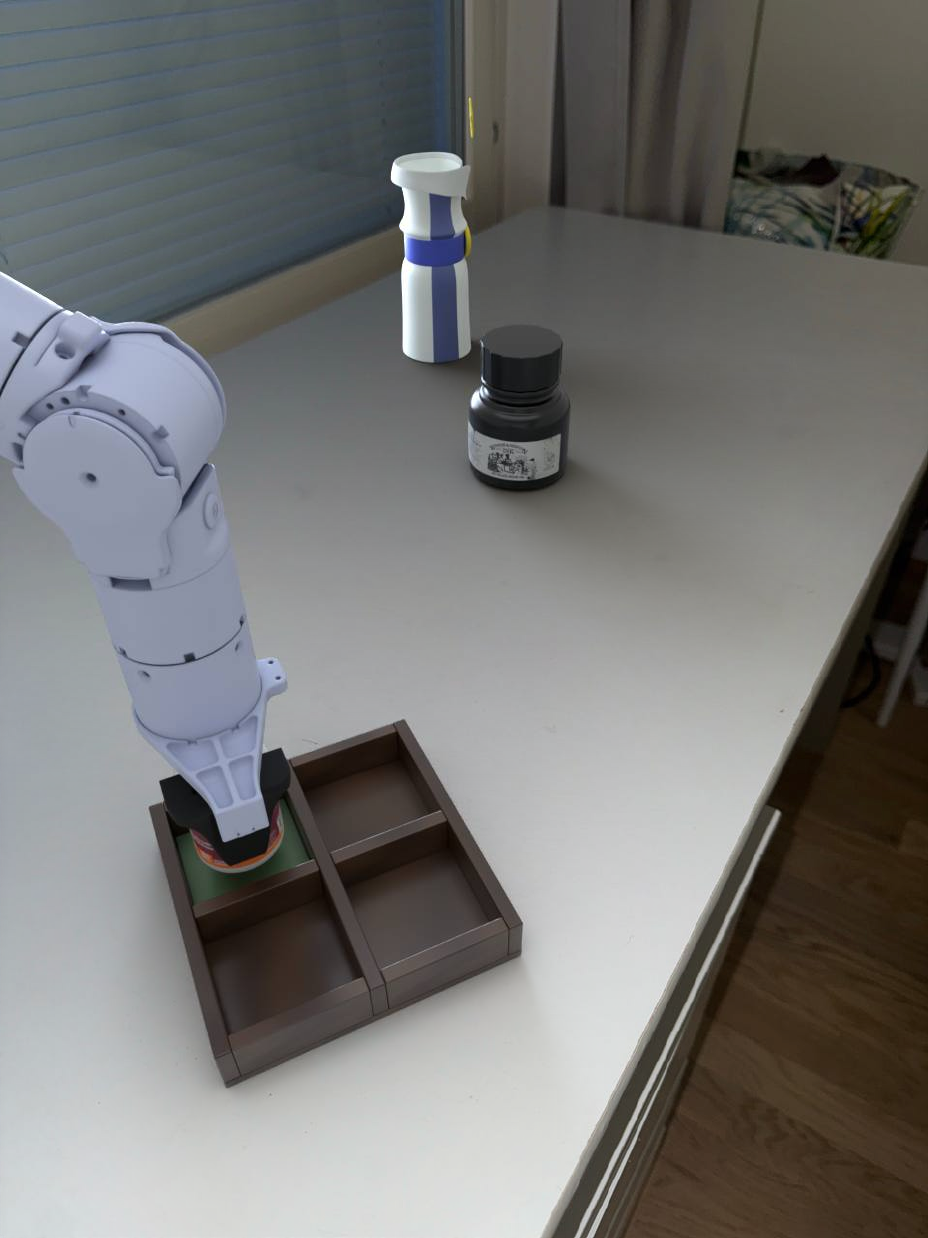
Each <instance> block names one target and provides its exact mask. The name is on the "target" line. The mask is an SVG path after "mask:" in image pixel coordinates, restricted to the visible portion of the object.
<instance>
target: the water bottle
mask: <svg viewBox="0 0 928 1238" xmlns="http://www.w3.org/2000/svg"><path fill="white" fill-rule="evenodd" d="M468 102H469V121H470V137H471V139H472V138H474V133H475V128H474V111H473V105H472V97H469V99H468ZM463 163H464V162H463V160H462V159H461V157H460V156H458V155H456V154H454V153H451V152H443V151H429V152H428V151H426V152H416V153H415V152H414V153H410V154H404V155H402V156H399V157H397V158H396V159H395V160H394V161H393V162H392V166H391V167H392V168H391V172H390V180H391V182H392V183H393V184H394V185H395V186H398V187H400V188H401V189H402V193H403V200H404V213H403V217H402V219H401V221H400V223H399V229H400V230H401V231H402V233H403V239H404V240H403V241H404V242H403V243H404V259H403V262H402V267H401V294H402V296H401V297H402V298H401V299H402V352H403V353H404V355H406V357H407V358H408V357H409V358H411V359H412V360H415V361H417V362H418V361H419V362H422V363H433V364H434V363H437V364H438V363H446V362H447V363H448V362H452V361H457V360H459V359H461V358H464V357H465V356H467V355H468V354H469V353H470V352H471V349H472V342H471V339H472V338H471V325H470V323H471V321H470V305H469V304H470V300H469V297H470V296H469V269H468V268H469V267H468V263H467V260H466V258H468V257H470V256H471V255H470V254H471V252H472V236H471V231H470V228H469V225H468V222H467V220H466V218H465V217H464V213H463V210H462V198H464V199H465V201H468V198H467V187H468V183H469V177H470V173H471V169H472V167H471V166H470V164H466V165H464V164H463ZM463 165H464V166H463Z"/></svg>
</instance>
